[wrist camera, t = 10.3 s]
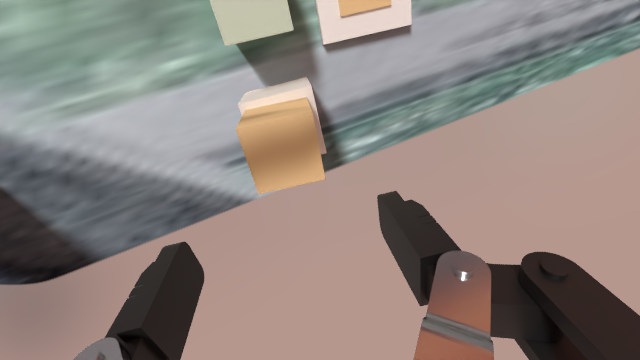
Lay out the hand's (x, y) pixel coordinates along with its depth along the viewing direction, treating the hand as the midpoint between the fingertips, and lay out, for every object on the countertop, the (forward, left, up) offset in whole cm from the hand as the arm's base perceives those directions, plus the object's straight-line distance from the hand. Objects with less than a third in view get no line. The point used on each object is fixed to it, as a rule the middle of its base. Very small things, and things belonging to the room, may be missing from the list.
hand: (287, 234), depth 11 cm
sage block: (+8, +6, -18) cm, 20 cm away
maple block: (0, 0, -13) cm, 13 cm away
